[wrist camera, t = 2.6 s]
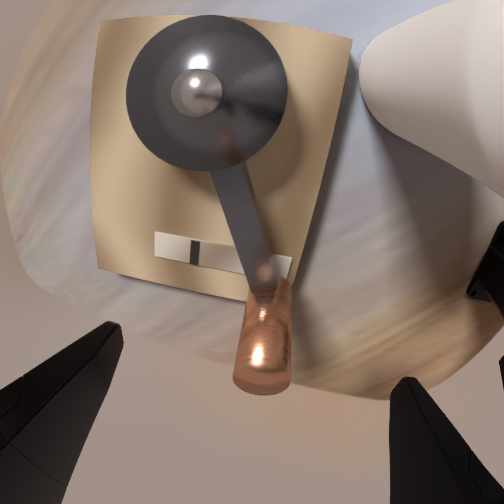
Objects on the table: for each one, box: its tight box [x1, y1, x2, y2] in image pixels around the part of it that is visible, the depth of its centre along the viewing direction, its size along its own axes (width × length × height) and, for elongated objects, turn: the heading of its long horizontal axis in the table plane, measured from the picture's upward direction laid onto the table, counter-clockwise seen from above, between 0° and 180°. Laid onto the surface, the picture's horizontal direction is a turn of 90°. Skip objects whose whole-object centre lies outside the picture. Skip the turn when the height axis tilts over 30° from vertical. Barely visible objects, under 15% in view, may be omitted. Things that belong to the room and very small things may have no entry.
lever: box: [126, 15, 291, 395], centre depth 12 cm, size 16×7×7 cm, turn 15°
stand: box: [90, 15, 353, 301], centre depth 16 cm, size 13×16×2 cm
